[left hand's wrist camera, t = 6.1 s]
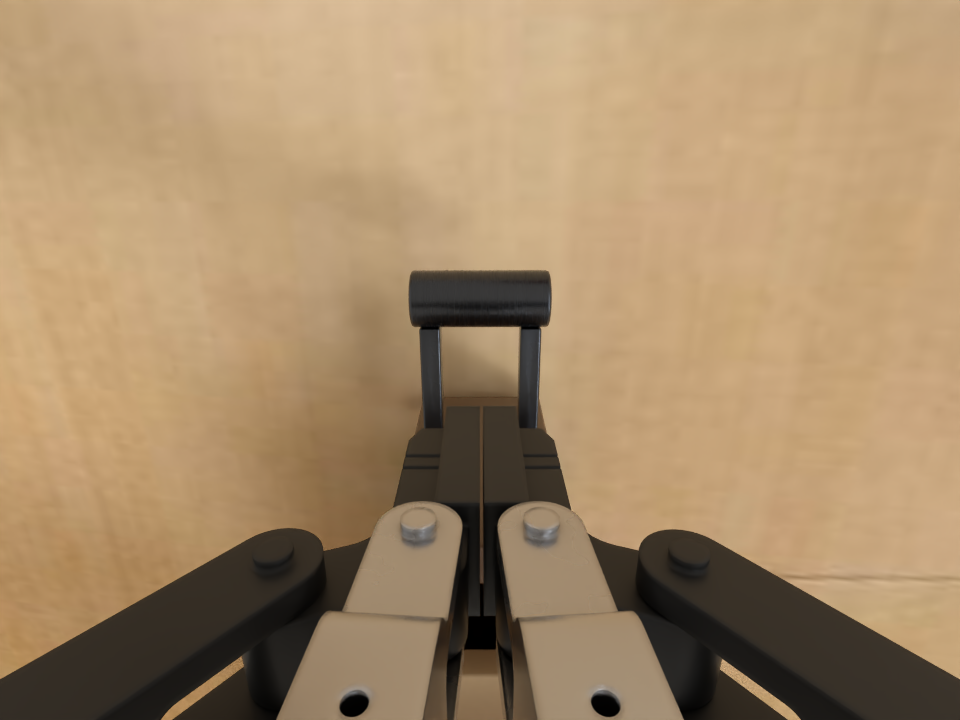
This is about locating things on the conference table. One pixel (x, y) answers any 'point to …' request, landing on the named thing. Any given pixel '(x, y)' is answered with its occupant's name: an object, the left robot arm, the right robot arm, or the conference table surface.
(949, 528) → the conference table surface
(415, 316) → the drawer
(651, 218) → the conference table surface
